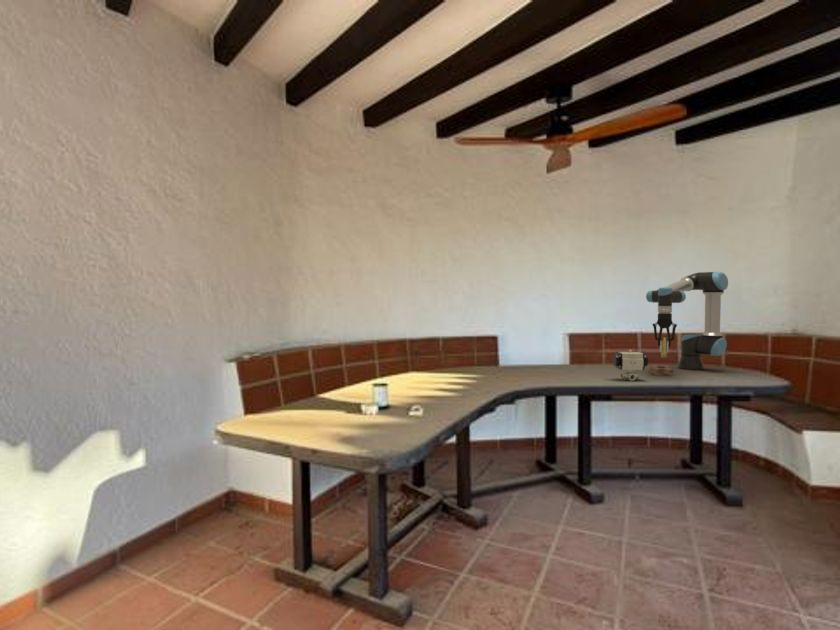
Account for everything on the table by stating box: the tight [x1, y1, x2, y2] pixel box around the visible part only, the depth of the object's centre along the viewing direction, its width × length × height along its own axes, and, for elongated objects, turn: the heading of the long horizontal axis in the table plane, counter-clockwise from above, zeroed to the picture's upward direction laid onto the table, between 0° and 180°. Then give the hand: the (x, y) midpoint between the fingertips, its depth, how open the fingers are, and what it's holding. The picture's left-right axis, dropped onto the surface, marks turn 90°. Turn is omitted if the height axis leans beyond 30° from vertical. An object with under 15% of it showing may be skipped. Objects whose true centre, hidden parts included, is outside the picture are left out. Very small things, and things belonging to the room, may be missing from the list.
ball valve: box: [612, 349, 649, 382], centre depth 281 cm, size 18×8×18 cm, turn 86°
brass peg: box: [660, 337, 668, 359], centre depth 289 cm, size 3×3×12 cm
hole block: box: [648, 364, 674, 377], centre depth 304 cm, size 12×16×4 cm
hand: (664, 351), depth 289 cm, fingers closed on brass peg, 3 cm apart
